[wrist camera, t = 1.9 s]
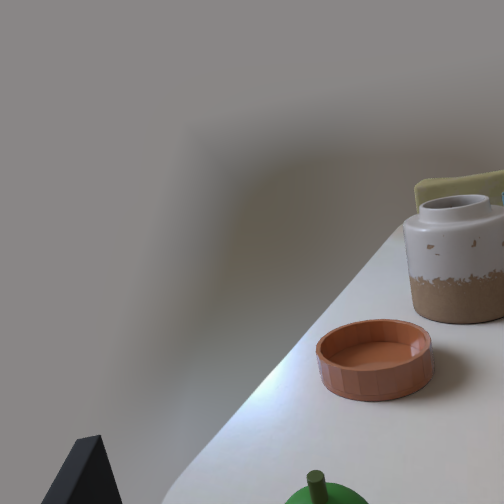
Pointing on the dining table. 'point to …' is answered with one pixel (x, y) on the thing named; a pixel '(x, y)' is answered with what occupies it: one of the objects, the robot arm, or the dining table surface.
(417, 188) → the cheese
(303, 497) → the green pepper
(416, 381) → the orange bowl
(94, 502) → the robot arm
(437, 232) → the vase
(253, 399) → the dining table surface
